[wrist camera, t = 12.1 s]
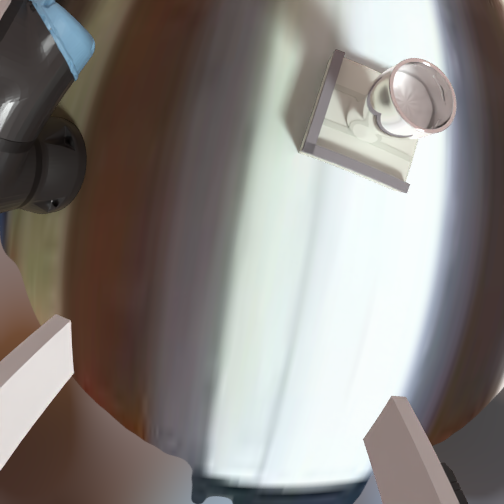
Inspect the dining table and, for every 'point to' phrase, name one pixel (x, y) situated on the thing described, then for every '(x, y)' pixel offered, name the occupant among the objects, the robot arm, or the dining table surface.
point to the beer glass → (404, 104)
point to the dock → (340, 136)
